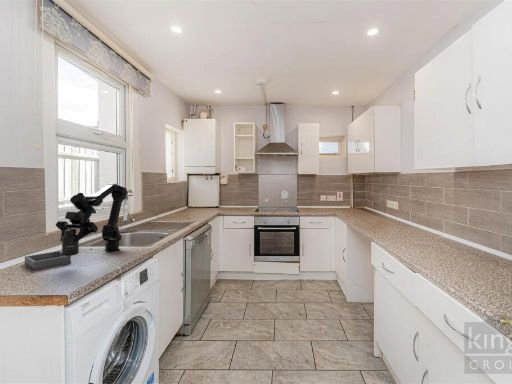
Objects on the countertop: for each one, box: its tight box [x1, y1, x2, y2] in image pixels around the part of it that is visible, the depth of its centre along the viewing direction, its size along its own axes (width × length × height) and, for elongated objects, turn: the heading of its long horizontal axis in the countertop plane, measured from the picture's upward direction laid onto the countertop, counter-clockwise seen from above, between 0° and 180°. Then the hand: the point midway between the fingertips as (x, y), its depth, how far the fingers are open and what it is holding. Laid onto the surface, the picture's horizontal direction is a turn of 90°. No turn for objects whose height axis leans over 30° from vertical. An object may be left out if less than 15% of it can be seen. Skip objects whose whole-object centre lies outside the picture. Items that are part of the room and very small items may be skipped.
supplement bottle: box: [61, 228, 80, 257], centre depth 133 cm, size 7×7×12 cm
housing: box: [24, 250, 72, 271], centre depth 139 cm, size 15×15×4 cm
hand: (68, 241), depth 132 cm, fingers closed on supplement bottle, 7 cm apart
